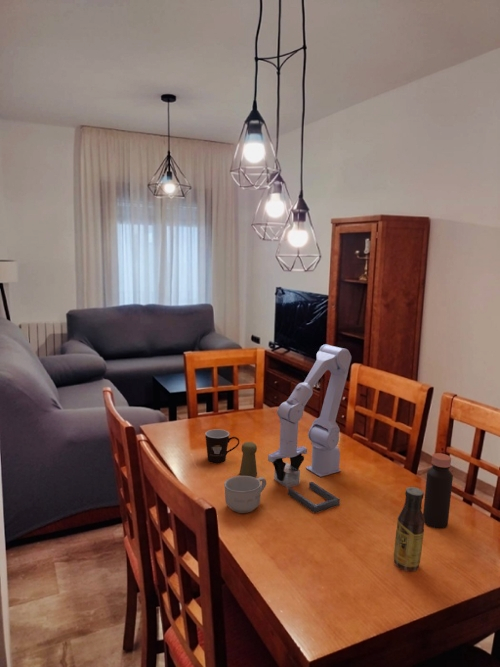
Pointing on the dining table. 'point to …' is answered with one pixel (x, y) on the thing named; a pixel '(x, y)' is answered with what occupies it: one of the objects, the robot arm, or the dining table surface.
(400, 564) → the sauce bottle
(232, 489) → the teacup
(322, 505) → the channel bracket
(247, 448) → the olive pawn piece
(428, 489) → the dark water bottle
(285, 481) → the block
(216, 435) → the coffee mug
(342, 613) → the dining table surface
